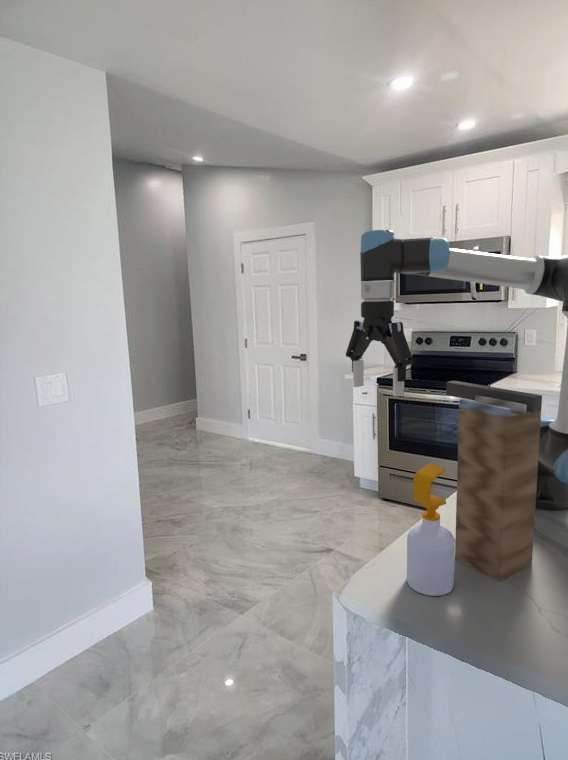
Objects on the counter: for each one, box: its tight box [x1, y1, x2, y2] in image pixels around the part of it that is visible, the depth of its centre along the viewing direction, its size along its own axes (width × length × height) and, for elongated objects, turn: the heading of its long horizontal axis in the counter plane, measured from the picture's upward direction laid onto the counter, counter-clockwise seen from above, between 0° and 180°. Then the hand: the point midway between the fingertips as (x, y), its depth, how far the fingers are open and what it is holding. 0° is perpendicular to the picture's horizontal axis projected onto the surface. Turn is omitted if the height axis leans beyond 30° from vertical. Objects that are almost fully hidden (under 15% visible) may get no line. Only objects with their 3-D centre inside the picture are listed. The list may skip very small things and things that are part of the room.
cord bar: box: [445, 380, 543, 412], centre depth 106 cm, size 21×3×3 cm, turn 32°
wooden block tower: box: [454, 395, 542, 582], centre depth 105 cm, size 11×11×36 cm
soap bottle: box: [406, 463, 455, 597], centre depth 99 cm, size 9×9×25 cm
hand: (377, 390), depth 120 cm, fingers open, 13 cm apart
